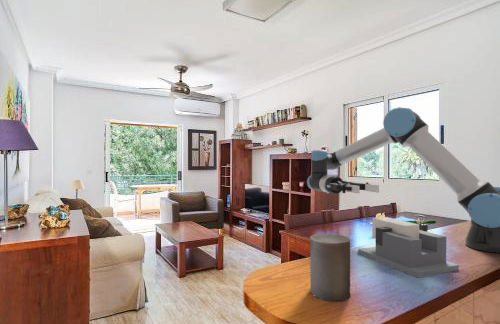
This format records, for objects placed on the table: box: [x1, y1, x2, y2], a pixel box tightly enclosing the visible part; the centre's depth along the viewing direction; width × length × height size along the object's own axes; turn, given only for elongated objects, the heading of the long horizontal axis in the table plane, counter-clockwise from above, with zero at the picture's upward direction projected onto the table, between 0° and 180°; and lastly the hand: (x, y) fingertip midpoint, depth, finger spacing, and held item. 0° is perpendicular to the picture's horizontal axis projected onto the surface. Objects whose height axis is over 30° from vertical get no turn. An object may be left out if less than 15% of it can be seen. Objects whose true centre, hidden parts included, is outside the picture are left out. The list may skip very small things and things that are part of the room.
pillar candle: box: [309, 232, 351, 302], centre depth 75 cm, size 10×10×15 cm
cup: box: [413, 222, 429, 232], centre depth 119 cm, size 8×7×8 cm
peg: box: [371, 216, 420, 240], centre depth 104 cm, size 14×6×7 cm, turn 22°
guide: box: [357, 227, 460, 278], centre depth 100 cm, size 24×17×10 cm
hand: (368, 189), depth 115 cm, fingers open, 9 cm apart
